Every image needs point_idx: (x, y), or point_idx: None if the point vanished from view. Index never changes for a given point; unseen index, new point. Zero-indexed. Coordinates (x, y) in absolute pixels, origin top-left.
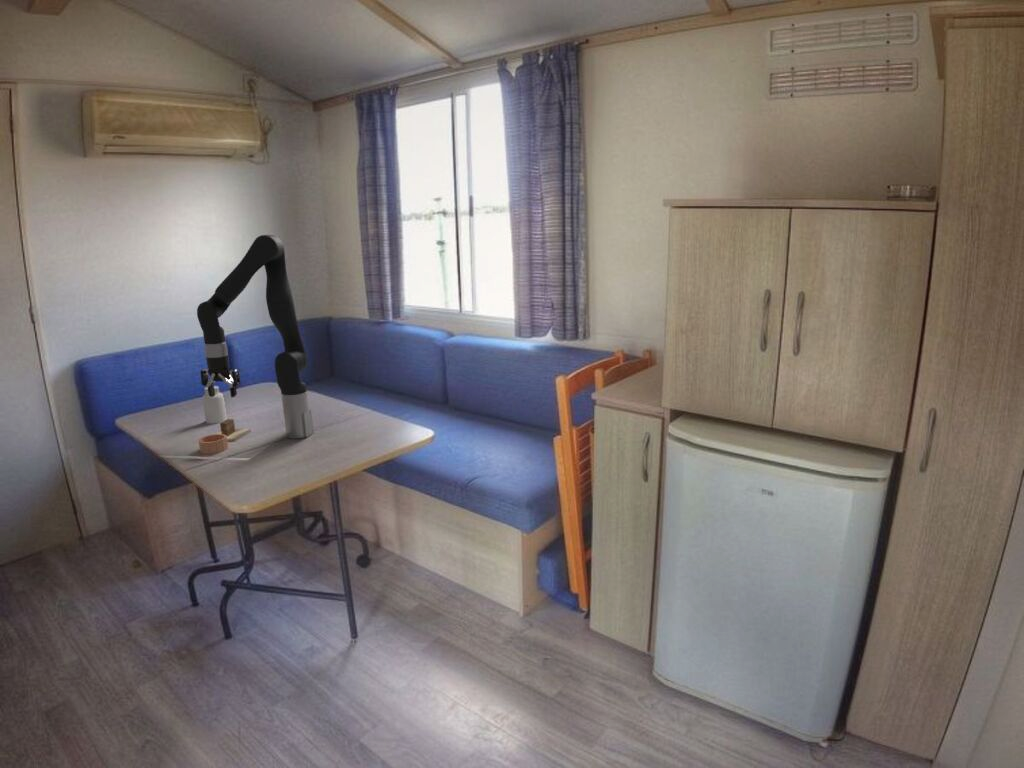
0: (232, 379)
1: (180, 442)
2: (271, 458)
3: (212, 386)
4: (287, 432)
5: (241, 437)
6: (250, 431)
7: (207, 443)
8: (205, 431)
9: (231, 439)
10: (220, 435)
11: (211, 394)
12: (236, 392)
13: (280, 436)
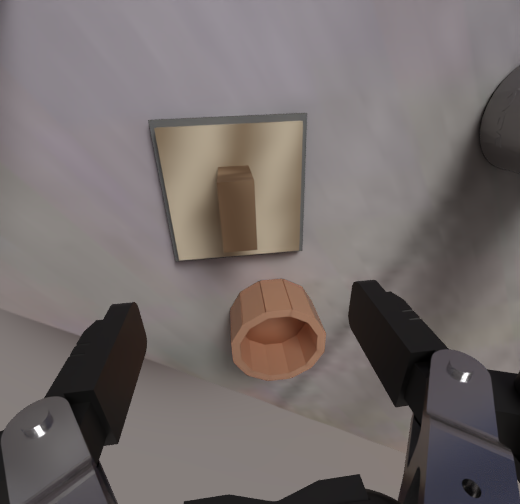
0: (503, 463)
1: (69, 269)
2: (464, 324)
3: (92, 406)
4: (508, 166)
5: (303, 205)
6: (305, 125)
7: (286, 376)
8: (41, 123)
9: (287, 250)
10: (285, 315)
11: (141, 362)
12: (409, 311)
13: (451, 145)
